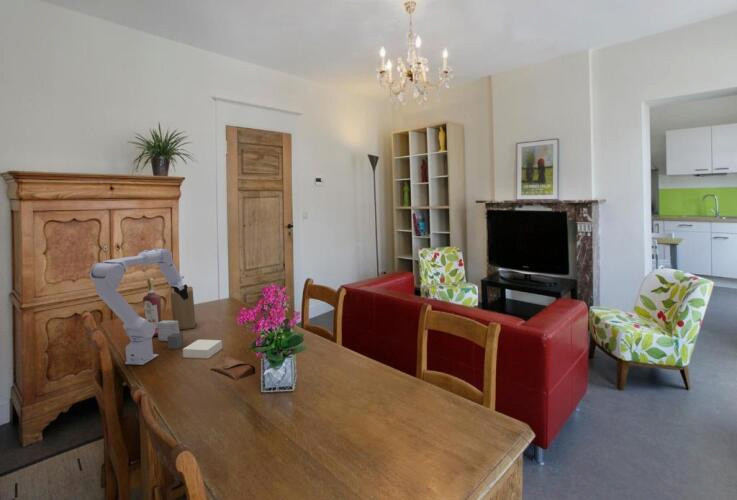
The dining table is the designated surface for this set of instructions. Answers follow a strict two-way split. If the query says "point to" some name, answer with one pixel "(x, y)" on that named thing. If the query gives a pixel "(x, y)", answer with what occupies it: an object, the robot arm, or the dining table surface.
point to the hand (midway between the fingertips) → (183, 295)
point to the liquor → (152, 306)
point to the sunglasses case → (233, 368)
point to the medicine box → (167, 329)
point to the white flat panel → (202, 349)
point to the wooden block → (183, 309)
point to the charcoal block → (175, 341)
